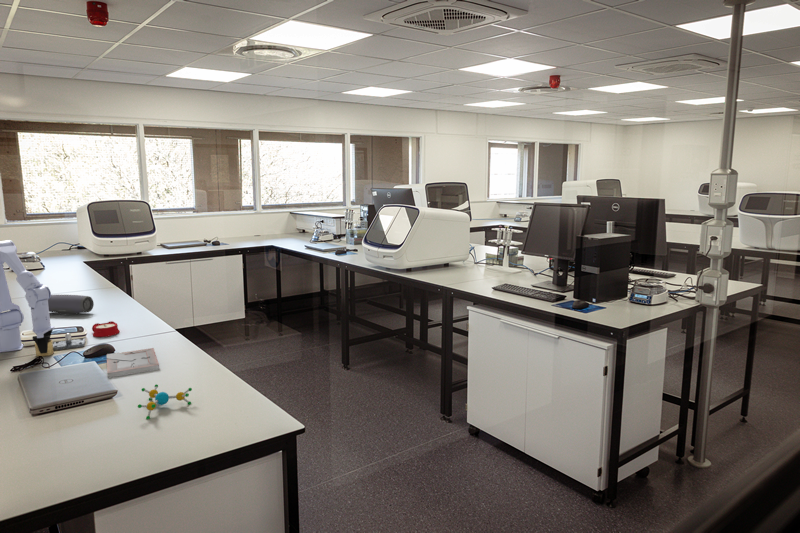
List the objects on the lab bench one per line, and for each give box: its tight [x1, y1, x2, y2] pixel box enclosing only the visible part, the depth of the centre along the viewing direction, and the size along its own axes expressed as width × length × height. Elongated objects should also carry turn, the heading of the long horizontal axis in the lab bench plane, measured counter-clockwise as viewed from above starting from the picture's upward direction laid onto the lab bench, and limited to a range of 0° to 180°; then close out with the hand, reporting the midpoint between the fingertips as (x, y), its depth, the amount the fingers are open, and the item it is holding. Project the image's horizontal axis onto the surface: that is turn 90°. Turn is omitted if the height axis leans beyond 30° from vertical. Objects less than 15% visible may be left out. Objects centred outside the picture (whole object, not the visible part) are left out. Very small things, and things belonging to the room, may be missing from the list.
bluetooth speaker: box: [48, 294, 95, 316], centre depth 261 cm, size 23×9×10 cm, turn 84°
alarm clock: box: [91, 320, 121, 338], centre depth 230 cm, size 10×6×15 cm
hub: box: [34, 339, 55, 357], centre depth 202 cm, size 6×6×5 cm
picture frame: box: [106, 347, 160, 378], centre depth 192 cm, size 16×2×22 cm
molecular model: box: [137, 383, 193, 420], centre depth 157 cm, size 16×5×15 cm
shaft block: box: [53, 332, 86, 351], centre depth 212 cm, size 11×8×5 cm
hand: (44, 350), depth 202 cm, fingers closed on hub, 6 cm apart
